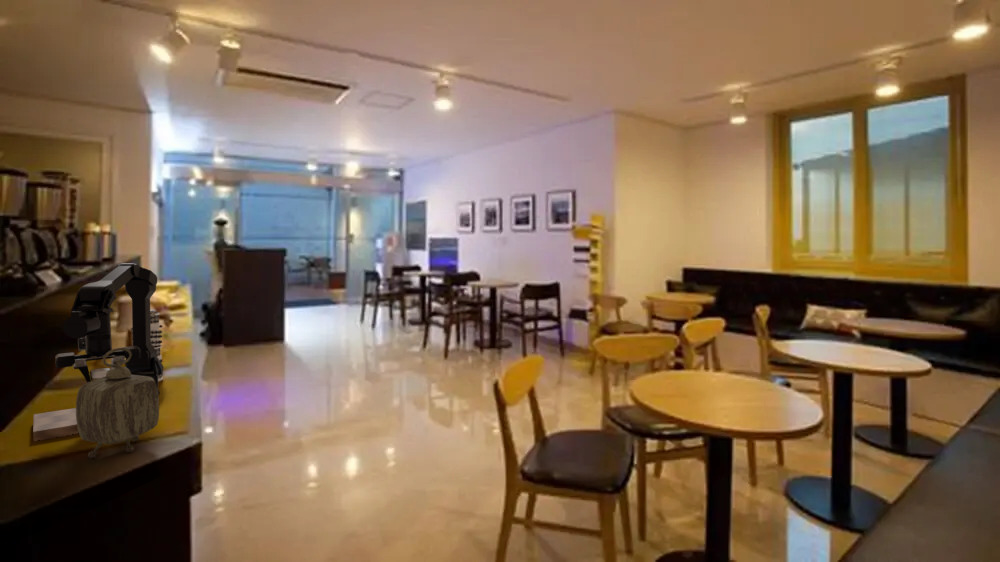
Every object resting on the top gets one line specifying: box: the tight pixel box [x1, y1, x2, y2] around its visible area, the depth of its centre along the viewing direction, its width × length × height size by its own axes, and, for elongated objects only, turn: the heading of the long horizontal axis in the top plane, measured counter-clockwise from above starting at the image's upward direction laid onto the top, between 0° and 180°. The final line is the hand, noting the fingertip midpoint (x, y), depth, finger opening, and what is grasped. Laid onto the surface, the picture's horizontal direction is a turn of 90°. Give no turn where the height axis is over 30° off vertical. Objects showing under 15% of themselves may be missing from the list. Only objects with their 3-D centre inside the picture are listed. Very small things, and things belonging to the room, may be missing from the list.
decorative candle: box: [130, 308, 164, 382], centre depth 191 cm, size 9×9×25 cm
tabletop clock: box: [75, 347, 160, 459], centre depth 129 cm, size 14×9×25 cm, turn 163°
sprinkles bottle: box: [89, 367, 111, 381], centre depth 151 cm, size 5×5×13 cm
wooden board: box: [32, 407, 79, 442], centre depth 148 cm, size 20×17×2 cm
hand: (101, 387), depth 151 cm, fingers closed on sprinkles bottle, 4 cm apart
